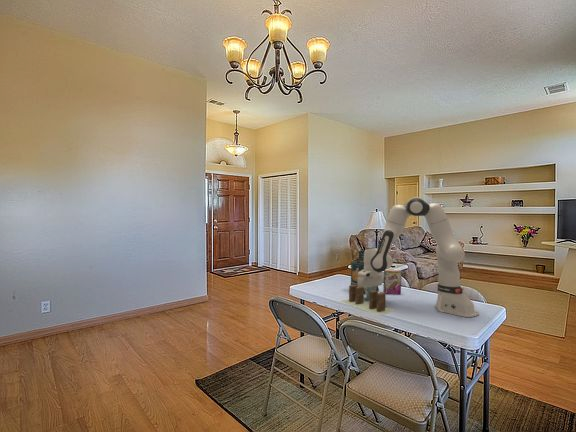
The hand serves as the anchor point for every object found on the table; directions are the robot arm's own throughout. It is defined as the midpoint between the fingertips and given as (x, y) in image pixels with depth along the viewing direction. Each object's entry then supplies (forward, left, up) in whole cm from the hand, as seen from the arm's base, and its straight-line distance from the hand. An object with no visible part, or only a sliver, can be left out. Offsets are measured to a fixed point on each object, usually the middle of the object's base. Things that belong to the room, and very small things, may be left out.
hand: (370, 293), depth 200 cm
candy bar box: (+2, -24, -4) cm, 24 cm away
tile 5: (+2, +14, -3) cm, 14 cm away
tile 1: (-20, +14, -3) cm, 25 cm away
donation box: (+16, -10, -4) cm, 19 cm away
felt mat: (-9, +14, -4) cm, 17 cm away
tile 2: (-15, +14, -3) cm, 21 cm away
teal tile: (0, 0, -4) cm, 4 cm away
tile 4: (-4, +14, -3) cm, 15 cm away
